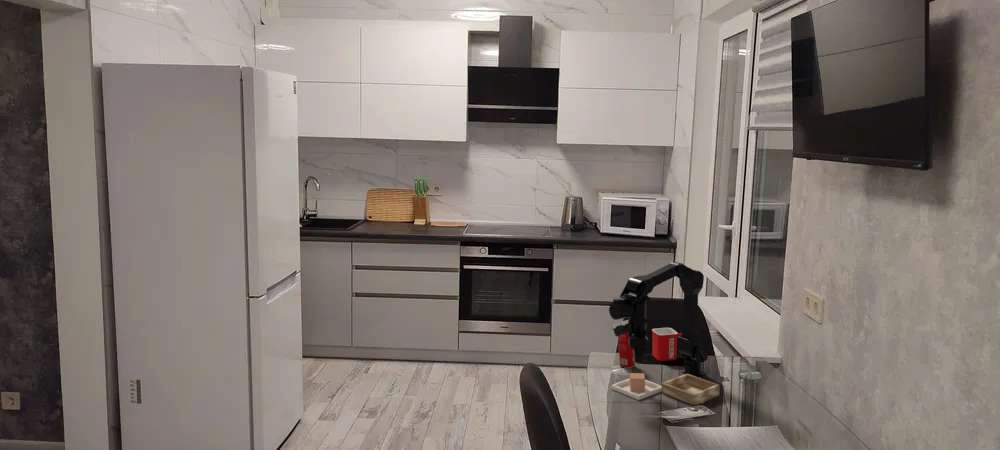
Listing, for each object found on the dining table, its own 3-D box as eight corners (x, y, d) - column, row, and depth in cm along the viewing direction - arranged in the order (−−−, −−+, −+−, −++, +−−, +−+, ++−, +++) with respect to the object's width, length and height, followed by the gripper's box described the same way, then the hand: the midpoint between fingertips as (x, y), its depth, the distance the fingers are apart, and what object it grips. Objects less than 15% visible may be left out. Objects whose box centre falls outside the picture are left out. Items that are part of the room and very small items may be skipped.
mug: (658, 361, 267) (658, 335, 265) (650, 354, 275) (650, 329, 273) (687, 359, 269) (688, 332, 267) (678, 352, 277) (679, 326, 275)
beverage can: (634, 369, 260) (635, 331, 257) (617, 368, 261) (617, 330, 259) (635, 363, 265) (635, 326, 263) (618, 363, 267) (618, 325, 264)
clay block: (629, 386, 242) (629, 373, 241) (644, 386, 241) (644, 373, 240) (630, 392, 237) (630, 378, 236) (645, 392, 236) (645, 378, 236)
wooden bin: (686, 384, 244) (686, 373, 243) (719, 396, 233) (719, 384, 233) (661, 394, 236) (661, 383, 235) (693, 406, 225) (694, 395, 225)
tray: (635, 381, 248) (635, 376, 248) (663, 391, 238) (663, 386, 238) (611, 390, 241) (611, 385, 240) (638, 401, 231) (638, 396, 230)
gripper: (613, 306, 245) (613, 348, 248) (614, 322, 227) (614, 367, 229) (645, 307, 244) (644, 349, 246) (648, 322, 225) (648, 368, 228)
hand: (637, 358), depth 237 cm, fingers open, 9 cm apart
